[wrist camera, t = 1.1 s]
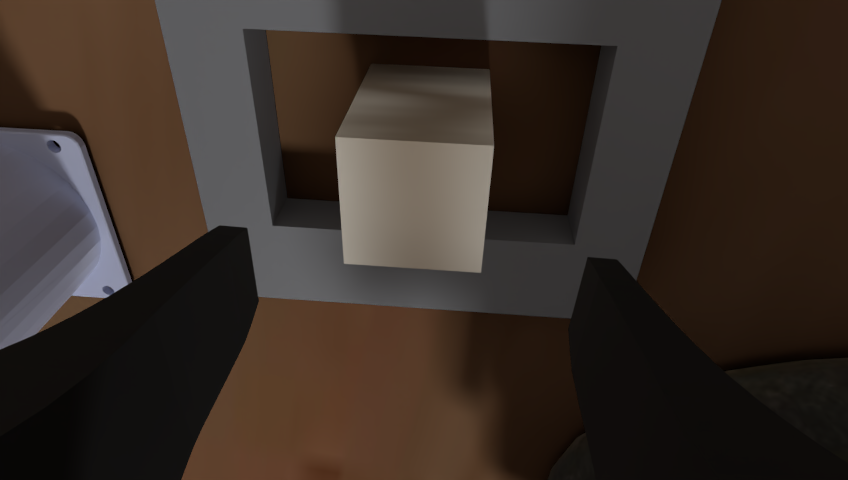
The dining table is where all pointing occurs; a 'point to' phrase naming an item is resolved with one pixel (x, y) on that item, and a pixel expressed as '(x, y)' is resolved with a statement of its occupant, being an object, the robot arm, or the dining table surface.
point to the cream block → (416, 168)
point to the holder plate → (505, 231)
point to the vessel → (782, 393)
